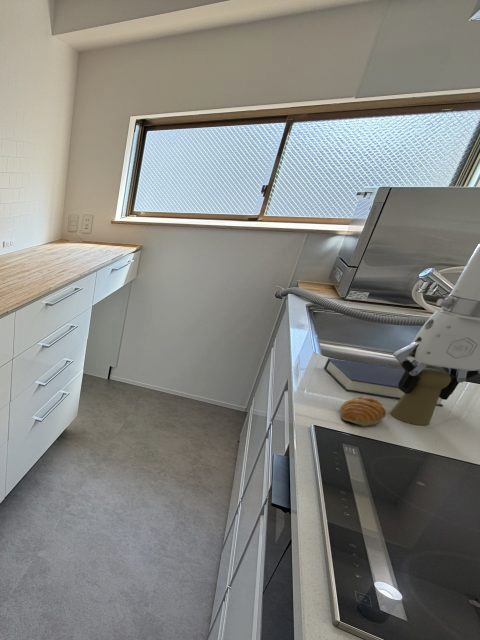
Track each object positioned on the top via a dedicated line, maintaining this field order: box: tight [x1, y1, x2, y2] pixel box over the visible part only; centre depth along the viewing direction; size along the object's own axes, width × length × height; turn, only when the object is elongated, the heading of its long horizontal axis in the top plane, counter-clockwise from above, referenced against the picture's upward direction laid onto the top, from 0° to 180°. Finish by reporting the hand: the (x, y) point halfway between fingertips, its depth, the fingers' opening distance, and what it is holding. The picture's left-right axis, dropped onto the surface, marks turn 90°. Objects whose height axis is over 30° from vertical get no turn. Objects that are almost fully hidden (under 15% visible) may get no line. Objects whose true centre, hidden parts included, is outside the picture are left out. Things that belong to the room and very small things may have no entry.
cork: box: [389, 367, 451, 426], centre depth 85 cm, size 6×6×11 cm
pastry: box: [340, 396, 387, 427], centre depth 85 cm, size 9×7×4 cm
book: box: [323, 357, 444, 407], centre depth 101 cm, size 18×14×3 cm
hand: (421, 393), depth 85 cm, fingers closed on cork, 5 cm apart
